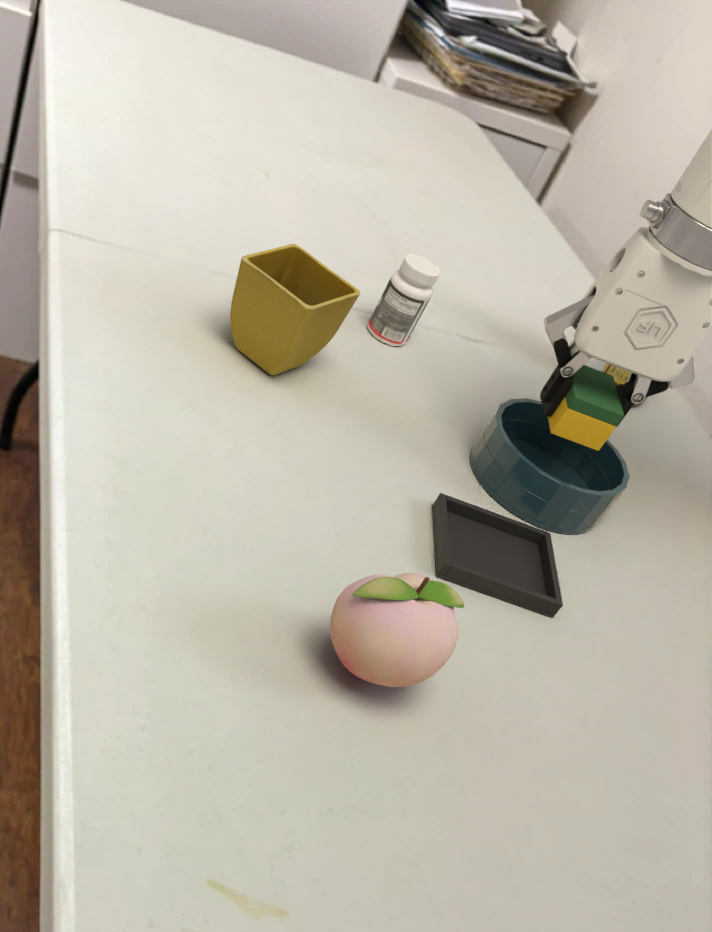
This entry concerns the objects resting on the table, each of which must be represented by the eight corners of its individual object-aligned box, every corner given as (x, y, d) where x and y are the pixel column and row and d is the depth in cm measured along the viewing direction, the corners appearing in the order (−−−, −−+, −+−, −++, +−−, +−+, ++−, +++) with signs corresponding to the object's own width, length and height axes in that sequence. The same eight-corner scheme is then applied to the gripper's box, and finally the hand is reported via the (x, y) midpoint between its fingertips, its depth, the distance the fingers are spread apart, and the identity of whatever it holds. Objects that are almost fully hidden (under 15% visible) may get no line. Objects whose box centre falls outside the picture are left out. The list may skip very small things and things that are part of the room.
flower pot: (207, 340, 106) (240, 254, 99) (261, 323, 111) (295, 241, 105) (272, 393, 104) (310, 309, 97) (324, 373, 109) (363, 292, 103)
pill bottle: (382, 318, 121) (418, 248, 115) (413, 343, 120) (451, 273, 114) (358, 325, 118) (393, 254, 112) (389, 351, 117) (427, 280, 111)
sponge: (588, 410, 106) (613, 375, 103) (598, 451, 101) (624, 416, 98) (542, 393, 105) (566, 357, 102) (550, 433, 100) (575, 397, 97)
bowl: (588, 468, 114) (617, 429, 111) (607, 552, 105) (640, 513, 101) (465, 421, 112) (491, 380, 109) (474, 503, 103) (502, 461, 99)
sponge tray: (540, 545, 102) (550, 532, 100) (552, 618, 95) (563, 605, 94) (431, 505, 100) (440, 492, 99) (435, 576, 93) (445, 563, 92)
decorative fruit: (340, 725, 78) (406, 630, 71) (291, 640, 82) (348, 542, 75) (440, 711, 82) (511, 620, 75) (388, 630, 86) (451, 537, 79)
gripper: (610, 218, 86) (493, 410, 99) (799, 293, 88) (659, 470, 101) (598, 181, 91) (487, 367, 104) (776, 252, 93) (646, 426, 106)
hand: (573, 416), depth 103 cm, fingers closed on sponge, 5 cm apart
